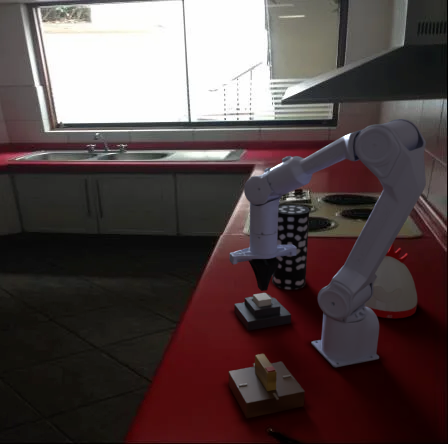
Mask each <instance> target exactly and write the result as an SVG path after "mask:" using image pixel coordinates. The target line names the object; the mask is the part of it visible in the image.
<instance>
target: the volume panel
mask: <svg viewBox="0 0 448 444" xmlns="http://www.w3.org/2000/svg"><path fill="white" fill-rule="evenodd" d="M270 363H271V365H272V366H273V367H274V369H275V370H276V372H277V378H276V390H271V391H267V390H266V389H265V387H264V386H263V384H262V382H261V381H260V379H259V378H258V376H257V375H256V373H255V362H254V363H252V365H253V366H250V367H245V368H240V369H234V370H229V371H228V387H229V389H230V391H231V392H232V394H233V396H234V399H235V400H236V402H237V404H238V405H239V407H240V409H241V411H242V413H243V415H244V416H245V418H246V419H250V418H255V417H260V416H265V415H270V414H275V413H279V412H284V411H288V410H293V409H298V408H302V407H304V406H305V394H306V391H305V390H304V388H303V387H302V385H301V384H300V383H299V382H298V381H297V379H296V378H295V376H294V375H293V374H292V373H291V372H290V370H289V369H288V368H287V367H286V365H285V364H284V362H283V361H277V362H270Z"/></svg>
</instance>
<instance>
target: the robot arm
mask: <svg viewBox="0 0 448 444" xmlns="http://www.w3.org/2000/svg"><path fill="white" fill-rule="evenodd" d="M426 147H427V141H426V139H425V137H424V135H423V134H422V132H421V131H420V129H419V127H418V126H417V124H415V123H414V122H413V121H411V120H409V119H405V118H396V119H393V120H390V121H388V122H384V123H376V124H371V125H367V126H366V127H365V128H363V129H359V130H356V131H353V132H350V133H348V134H346V135H344V136H342V137H340V138H338V139H336V140H333V142H331V143H329V144H328V145H326V146H323V147H322V148H320V149H319V150H316V151H315V152H314V153H312V154H310V155H309V156H306V157H305V158H304V157H301V156H297V155H295V156H291V155H288V156H285V157H283V158H282V159H281V161H282V162H281V163H279V164H277V165H275V166H274V167H270V166H269V167H267V168H265V169H264V170H263V173H262V174H259V175H252V176H250V177H249V178H248V179H247V180H246V181H245V184H244V186H243V193H244V196H245V198H246V200H247V201H248V202H249V247H246V248H243V249H239V250H236V251H232V252H229V253H228V254H229V263H231V264H232V265H237V264H238V263H242V262H243V263H244V262H248V263H249V264H250V267H251V268H252V271H253V273H254V276H255V281H256V285H257V289H259V290H260V292H265V291H268V289H269V285H270V282H271V281H272V280H271V279H272V276H273V273H274V271H275V270H276V268H277V267H278V266H279V261H278V260H277V259H276V257H279V256H286V255H291V256H296V251H297V247H295V246H294V245H293V244H290V245H277V235H278V206H280V200H281V199H282V197H283V196H285V195H286V194H289V193H291V192H293V191H295V190H297V189H300V188H302V187H304V186H306V185H309V184H310V183H311V180H312V178H313V174H315V173H317V172H320V171H322V170H324V169H326V168H329V167H331V166H333V165H335V164H339V163H340V162H342V161H345V160H348V161H350V162H357V161H360V162H361V163H362V164H363V165H364V166H365V167H366V168H367V169H368V170H369V171H370V172H371V173H372V174H373V175H374V176H375V177H376V178H377V179H378V181H379V183H380V184H381V187H382V191H381V193H380V195H379V197H378V199H377V201H376V202H375V205H374V207H373V209H372V211H371V212H370V214H369V216H368V218H367V220H366V222H365V224H364V226H363V227H362V229H361V232H360V234H359V235H358V237H357V239H356V241H355V243H354V245H353V247H352V249H351V251H350V252H349V254H348V257H347V258H346V261H345V262H344V265H342V267H341V268H340V269H339V270H338V271H337V272H336V274H335V275H334V276H333V277H332V278H331V281H330V282H329V284H328V285H326V286H324V287H322V288H321V289H320V290H319V292H318V293H317V303H318V307H319V308H320V310H321V311H322V312H323V313H322V325H321V338H320V339H318V340H313V341H311V345H312V346H313V347H314V348H315V350H317V351H318V352H319V353H320V355H321V356H322V357H323V358H324V359H325V360H326V361H327V362H328V363H329V364H330V365H331V366H332V367H333V368H340V367H345V366H349V365H351V366H352V365H357V364H361V363H365V362H371V361H376V360H379V359H380V356H379V355H378V354H377V350H378V343H379V335H380V322H379V318H378V316H376V314H375V313H374V312H373V310H372V309H370V308H369V307H366V306H365V304H366V303H365V302H367V301H368V300H370V299H371V297H372V296H373V292H374V288H373V285H374V281H375V279H376V278H377V276H376V274H375V273H376V271H377V269H378V268H379V266H380V264H381V262H382V261H383V259H384V257H385V256H386V254H387V252H388V250H389V249H390V247H391V245H392V244H394V242H395V240H396V239H397V236H398V235H399V233H400V232H401V230H402V228H403V226H404V225H405V223H406V221H407V219H408V218H409V216H410V214H411V213H412V210H413V209H414V207H415V206H416V204H417V202H418V200H419V199H420V197H421V196H422V194H423V192H424V190H425V189H426V186H427V185H426V184H427V179H426V166H425V165H426V163H425V150H426Z"/></svg>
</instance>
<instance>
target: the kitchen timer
mask: <svg viewBox="0 0 448 444" xmlns="http://www.w3.org/2000/svg"><path fill="white" fill-rule="evenodd" d="M401 251H402V248H401V247H398V248H397V250H396V251H395V244H394V243H393V244H392V245H391V247H390V249H389V250H388V252H387V254H386V256H385V257H384V259H383V261H382V262H381V264H380V266H379V268H378V269H377V271H376V273H375V274H376V276H377V278H376V279H375V281H374V285H373V288H374V292H373V296H372V297H371V299H370V300H368V301H367V302H365V303H366V304H365V306H366V307H369V308H370V309H372V310H373V312H374V313H375V314H376V316H377V318H378V317H379V318H383V319H385V318H386V319H403V318H407V317H411V316H413V315H414V314H415V313H416V311H417V307H418V293H417V289H416V284H415V281H414V278H413V275H412V273H411V272H410V270H409V268H408V267H407V266H406V264H405V263H404V262H405V261H406V259H407V258H408V256H409V253H408V252H406V253H405V254H404V255H403V256H401V257H399V256H400V254H401Z"/></svg>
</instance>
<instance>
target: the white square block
mask: <svg viewBox="0 0 448 444" xmlns="http://www.w3.org/2000/svg"><path fill="white" fill-rule="evenodd" d="M267 294H268V293H266V292H259V293H255V294H253V295H252V297H253V302H254V303H255V304H256V305H257V306H258V307H262V306H268V305H271V298H270V297H269V296H268V295H267Z"/></svg>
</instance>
